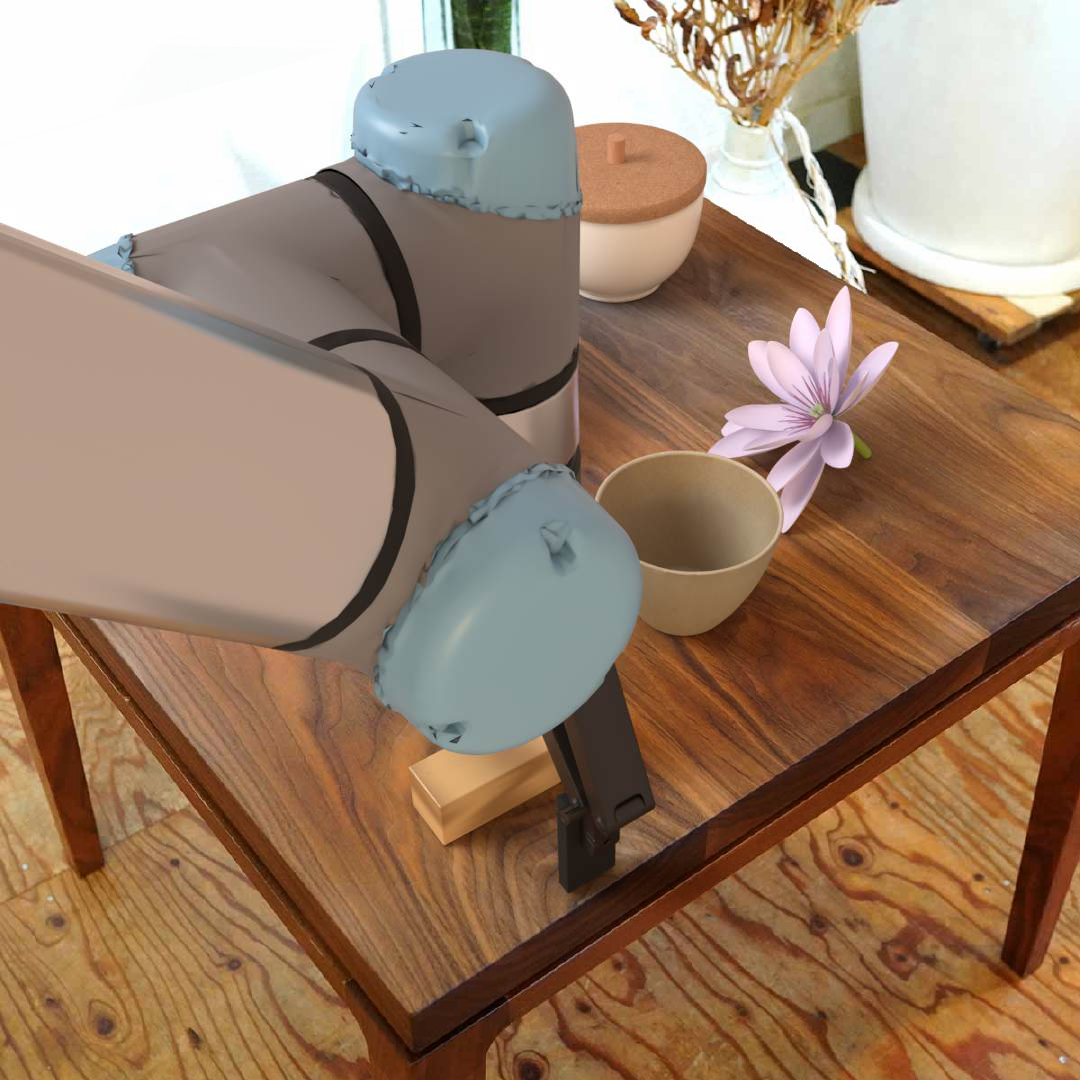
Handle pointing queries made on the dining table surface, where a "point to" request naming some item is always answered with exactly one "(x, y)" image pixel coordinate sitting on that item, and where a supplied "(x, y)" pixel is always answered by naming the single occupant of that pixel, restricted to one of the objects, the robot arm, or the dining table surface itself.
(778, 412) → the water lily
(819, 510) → the dining table surface
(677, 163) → the lidded bowl
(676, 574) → the flower pot
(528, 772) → the pale wooden brick
